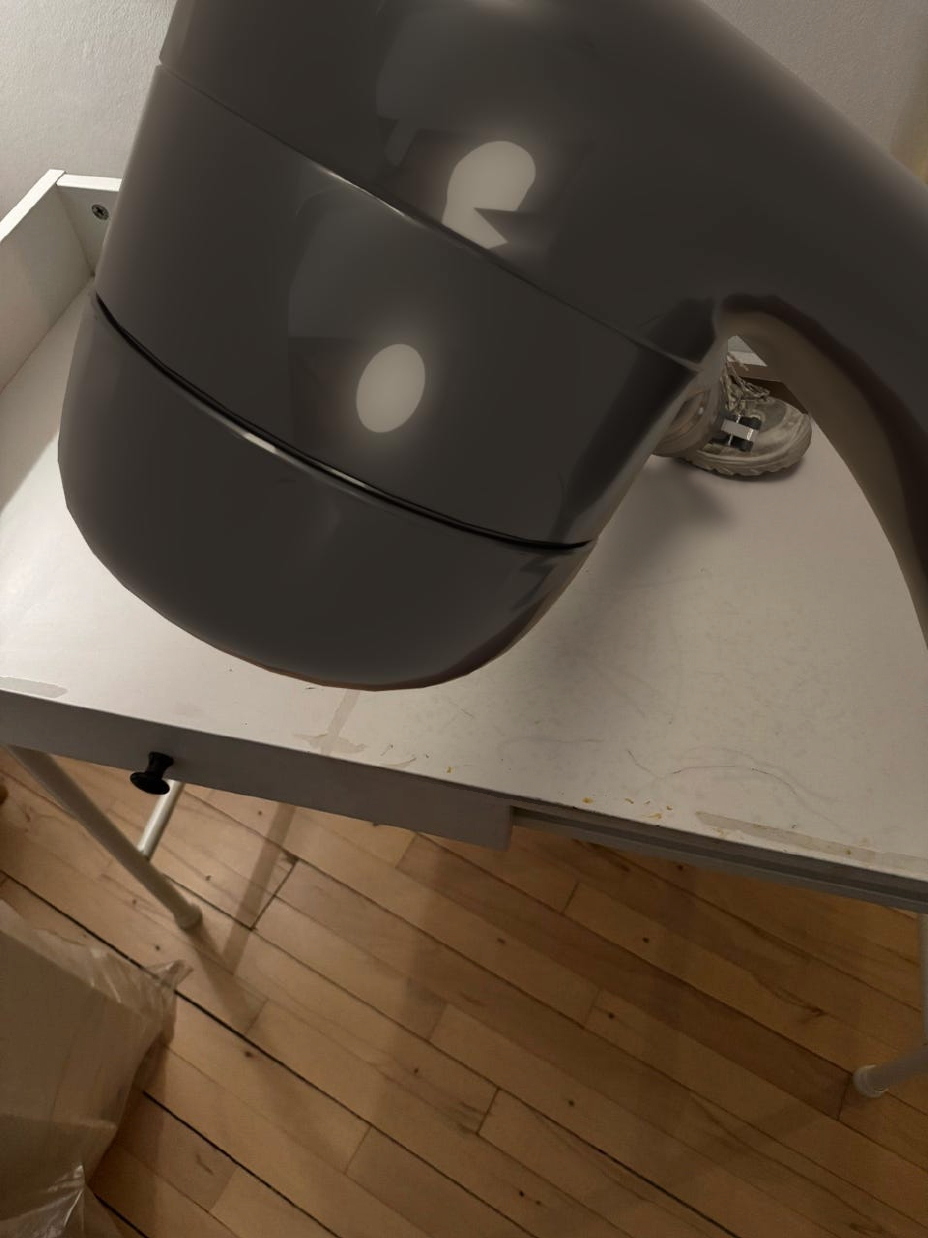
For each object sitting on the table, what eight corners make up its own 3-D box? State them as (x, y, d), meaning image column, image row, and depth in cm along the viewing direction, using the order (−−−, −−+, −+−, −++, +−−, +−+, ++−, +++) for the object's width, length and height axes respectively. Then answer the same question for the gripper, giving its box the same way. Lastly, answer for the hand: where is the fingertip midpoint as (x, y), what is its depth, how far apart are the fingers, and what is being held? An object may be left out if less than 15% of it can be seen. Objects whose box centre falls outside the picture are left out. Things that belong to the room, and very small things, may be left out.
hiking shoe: (790, 495, 72) (832, 351, 66) (566, 443, 80) (587, 311, 74) (804, 473, 79) (843, 343, 74) (598, 428, 87) (620, 307, 82)
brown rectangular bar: (808, 401, 81) (819, 373, 78) (807, 415, 80) (818, 386, 77) (529, 362, 87) (529, 334, 84) (524, 374, 86) (525, 346, 83)
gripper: (560, 423, 61) (608, 442, 77) (736, 481, 57) (749, 489, 73) (595, 319, 59) (637, 362, 75) (780, 372, 55) (783, 405, 71)
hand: (692, 424), depth 74 cm, fingers closed
